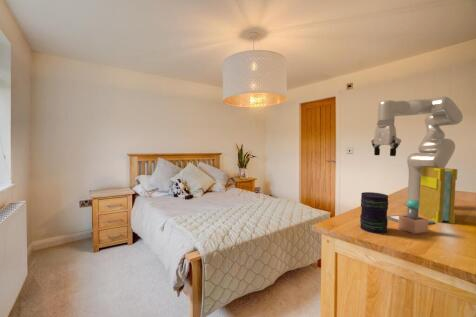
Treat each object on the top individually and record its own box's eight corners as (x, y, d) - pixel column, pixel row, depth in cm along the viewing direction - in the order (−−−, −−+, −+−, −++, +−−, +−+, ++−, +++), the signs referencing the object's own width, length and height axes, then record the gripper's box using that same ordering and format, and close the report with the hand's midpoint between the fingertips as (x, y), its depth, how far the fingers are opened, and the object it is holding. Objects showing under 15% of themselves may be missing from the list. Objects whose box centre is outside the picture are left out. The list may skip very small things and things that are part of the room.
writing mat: (408, 215, 112) (408, 213, 112) (434, 223, 100) (435, 221, 100) (385, 217, 108) (385, 215, 108) (409, 226, 96) (409, 224, 96)
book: (454, 223, 100) (457, 169, 99) (437, 222, 101) (440, 168, 100) (430, 212, 117) (432, 166, 115) (415, 211, 118) (417, 165, 117)
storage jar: (355, 228, 94) (356, 193, 93) (366, 223, 100) (367, 191, 99) (381, 236, 86) (382, 198, 85) (391, 230, 92) (392, 195, 91)
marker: (411, 226, 94) (412, 199, 93) (420, 230, 90) (421, 201, 90) (404, 227, 93) (405, 199, 92) (413, 231, 89) (414, 202, 89)
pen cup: (410, 226, 96) (411, 214, 95) (427, 232, 89) (428, 219, 89) (398, 228, 94) (398, 215, 94) (414, 234, 87) (415, 220, 87)
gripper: (367, 125, 126) (366, 155, 127) (395, 122, 109) (393, 156, 110) (377, 125, 128) (376, 155, 129) (407, 122, 111) (405, 156, 112)
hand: (384, 155), depth 120 cm, fingers open, 9 cm apart
